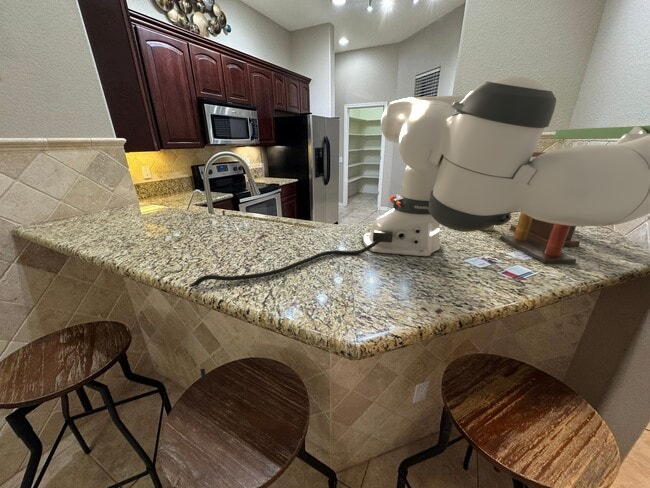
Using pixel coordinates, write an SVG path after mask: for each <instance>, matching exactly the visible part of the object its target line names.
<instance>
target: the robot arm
mask: <svg viewBox="0 0 650 488" xmlns="http://www.w3.org/2000/svg"><path fill="white" fill-rule="evenodd" d="M556 105H557V97H556V95H555V94H554V91H552V90H548V89H547V88H546V86H544V85H543V84H541V83H540V82H538V81H537V80H534V79H531V78H529V77H523V76H507V77H502V78H498V79H495V80H492V81H485V82H483V83H482V84H480V85H478V86H477V87H474V88H473V89H472V90H470V91H469V92H468V94H460V95H458V94H457V95H440V96H439V95H437V96H415V97H414V96H413V97H412V96H411V97H405V98H402V99H398V100H393V101H391V102H390V103H389V104H388V105H387V106H386V107H385V109H384V110H383V113H382V116H381V119H380V128H381V132H382V135H383V137H384V138H385V140H387V141H388V142H392V143H396V144H398V151H399V154H400V158H401V159H402V161H403V162H404V164H405V165H406V167H405V169H404V170H403V177H402V178H403V179H402V186H401V187H402V188H401V194H400V195H399V196H395V195H393V194H392V195H390V196H389V198H388V200H389V202H390V203H392V208H391V209H390V210H388V211H387V212H385V213H384V214H382V215H381V216H378V217H377V218H375V219H374V221H373V223H372V226H371V228H370V229H371V230H370V232H367V233H365V234H364V235H363V236H362V242H363V244H364V246H365V247H364V248H361V249H359V250H328V251H322V252H320V253H316V254H314V255H312V256H309V257H307V258H304V259H302V260H301V259H300V260H298V261H296V262H293V263H291V264H289V265H286V266H284V267H280V268H276V269H273V270H269V271H264V272H258V273H252V274H249V273H248V274H241V275H231V276H230V275H217V274H206V275H203V276H200V277H199V278H197V279H196V280H195V281H194V282H193V284H192V286H193V287H196V286H199V285H200V284H201V283H203V282H205V281H211V280H213V281H214V280H216V281H225V282H234V281H241V280H252V279H259V278H265V277H270V276H274V275H278V274H282V273H284V272H287V271H289V270H291V269H292V270H293V269H294V268H296V267H299V266H301V265H304V264H307V263H309V262H311V261H314V260H317V259H319V258H322V257H324V256H331V255H344V256H345V255H347V256H351V255H352V256H354V255H360V254H364V253H366V252H368V251H371V252H374V253H379V254H381V253H382V254H393V255H405V256H418V257H430V256H431V255H432V253H435V252H437V251H438V250H440V249H441V241H440V225H441V226H443V227H445V228H447V229H450V230H452V231H456V232H461V233H469V232H478V231H484V230H483V229H487V228H489V227H491V226H493V225H494V226H502V225H505V224H507V223H509V221H511V220H512V214H511V213H514V212H518V213H520V214H521V213H524V214H526V215H528V216H529V217H532V218H534V219H537V220H540V221H544V222H548V223H553V224H559V225H568V226H576V227H608V226H615V225H620V224H624V223H628V222H631V221H634V220H638V219H639V218H643V217H645V216H648V215H650V133H648V134H647V131H648V130H647V129H646V128H644V127H634V128H633V129H632V130H631V131H630V133H628V134H625V135H623V136H622V137H621V138H618V140H617V141H616V142H615V143H614V144H584V145H575V146H569V147H563V148H558V149H554V150H553V149H552V150H550V151H549V150H548V151H545V152H546V153H543V154H541V155H539V156H537V157H532V155H533V153H534V152H536V148H537V146H538V145H539V142H540V141H541V137H542V134H543V133H544V129H545V128H548V127H549V126H550V124H551V120H552V118H553V116H554V113H555V108H556ZM205 369H206V368H199V371H200V377H201V380H202V381H205V380H206V379H207V374H206V370H205Z"/></svg>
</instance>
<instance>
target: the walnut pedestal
mask: <svg viewBox="0 0 650 488" xmlns="http://www.w3.org/2000/svg"><path fill="white" fill-rule="evenodd" d="M546 152H547V151H534V153H533V155H532V158H536V157H537V156H539V155H541V154H543V153H546ZM553 225H554V224H553V223H548V222H544V221H540V220H537V219H534V218H533V220H532V223H531V226H530V229H529V232H528V235H527V237H530V238H532V239H534V240H536V241H538V242H540V243H542V244H544V245H547V243H548V240H549V237H550V234H551V231H552V228H553ZM516 227H517V224H511V225H510V228H509V230H511V231H513V232H515V231H516ZM576 227H577V226H571V227H570V229H569V232H568V235H567V237H566V240H565V243H564V245H563V247H579V246H580V244H581V241H580V240H578V239H576V238H573V235H574V233H575V230H576V229H577V228H576Z"/></svg>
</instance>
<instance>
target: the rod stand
mask: <svg viewBox="0 0 650 488" xmlns="http://www.w3.org/2000/svg"><path fill="white" fill-rule="evenodd" d="M532 220H533V218H532V217H529V216H528V215H526V214H524V213H521V212H520V215H519V217H518V220H517V224H516V225H517V227H516V231H514V234H513V235H511V234H510V235H506V234H505V235H504V234H503V235H500V237H499V240H501V241H502V242H505V243H507V244H508V245H510V246H512V247H514V248H515V249H517V250H519V251H521V252H523V253H525V254H526V255H528V256H530V257H532V258H533V259H535V260H537V261H539V262H541V263H543V264H566V265H567V264H569V265H570V264H571V265H573V264H576V262H577V259H576V258H574V257H573V256H570V255H569V254H566V253H564V252H562V251H563V247H564V246H563V245H564V243H565V240H566V237H567V235H568V232H569V229H570V227H571V226H568V225H559V224H554V225H553V228H552V231H551V234H550V237H549V240H548V243H547V245H544V244H542V243H540V242H538V241H536V240H534V239H532V238H530V237H527V235H528V232H529V229H530V226H531V223H532Z"/></svg>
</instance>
